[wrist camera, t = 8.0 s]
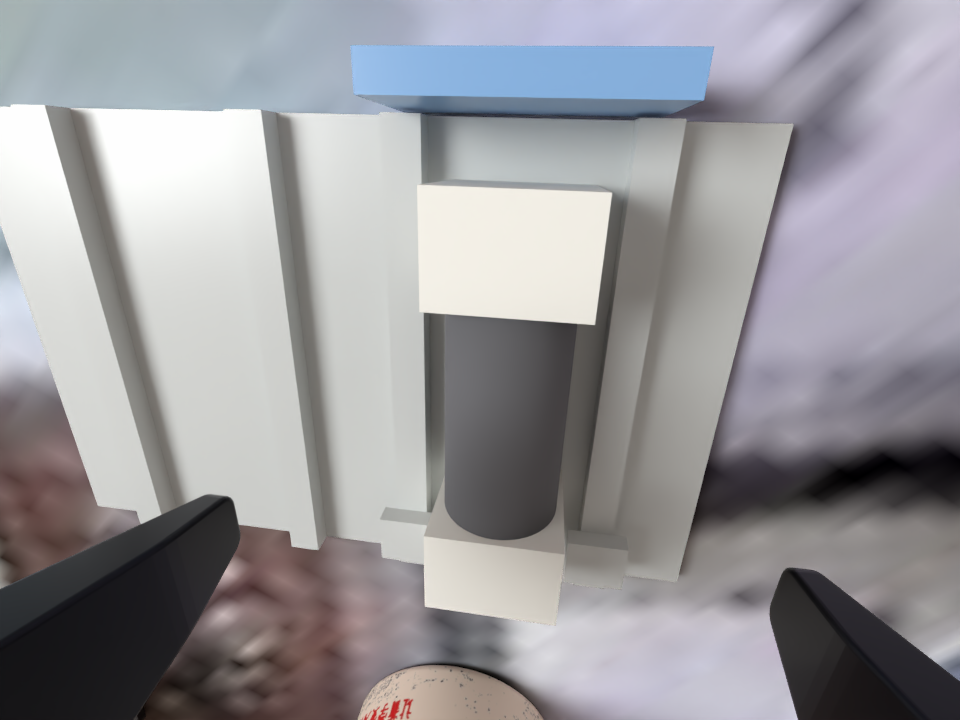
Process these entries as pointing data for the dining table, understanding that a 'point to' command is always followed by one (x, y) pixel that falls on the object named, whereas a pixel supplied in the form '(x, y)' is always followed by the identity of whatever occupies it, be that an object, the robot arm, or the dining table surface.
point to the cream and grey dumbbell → (505, 382)
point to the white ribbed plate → (385, 290)
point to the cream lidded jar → (445, 697)
